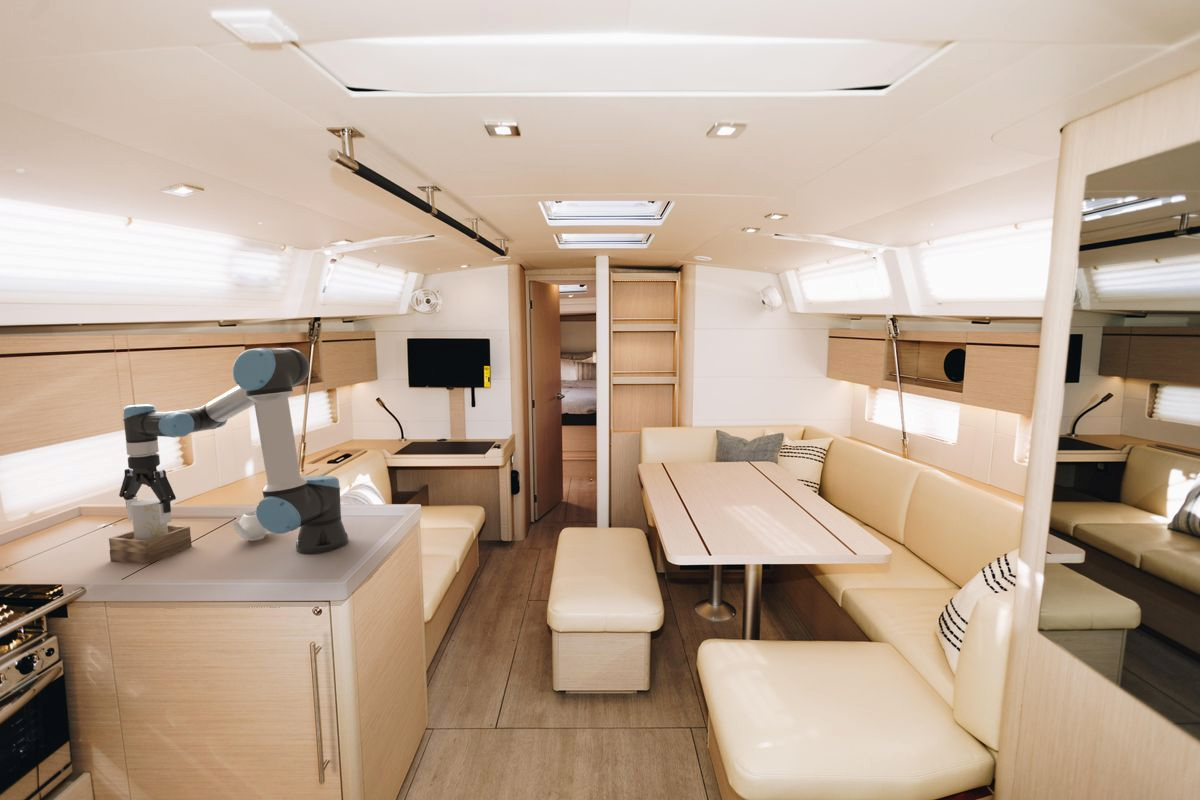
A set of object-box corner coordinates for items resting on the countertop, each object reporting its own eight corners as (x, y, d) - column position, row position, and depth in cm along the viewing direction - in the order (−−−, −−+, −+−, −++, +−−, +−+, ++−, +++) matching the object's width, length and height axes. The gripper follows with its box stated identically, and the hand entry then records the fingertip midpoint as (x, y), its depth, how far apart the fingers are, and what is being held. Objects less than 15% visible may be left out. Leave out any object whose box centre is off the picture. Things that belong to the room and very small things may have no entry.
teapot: (288, 529, 192) (286, 504, 191) (249, 551, 172) (247, 523, 171) (262, 529, 192) (260, 503, 191) (220, 550, 172) (218, 522, 171)
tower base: (191, 546, 176) (190, 536, 175) (149, 564, 162) (148, 552, 162) (155, 544, 178) (154, 534, 177) (110, 561, 164) (109, 550, 164)
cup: (148, 544, 164) (145, 506, 163) (127, 542, 166) (123, 504, 165) (174, 534, 172) (171, 498, 171) (154, 533, 174) (151, 497, 173)
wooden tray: (190, 537, 175) (189, 526, 174) (145, 553, 161) (144, 542, 161) (156, 533, 178) (155, 523, 177) (109, 549, 164) (108, 538, 164)
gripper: (186, 454, 167) (191, 520, 169) (127, 450, 173) (133, 513, 176) (161, 459, 160) (167, 528, 162) (100, 454, 166) (107, 521, 168)
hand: (149, 520), depth 169 cm, fingers open, 13 cm apart
